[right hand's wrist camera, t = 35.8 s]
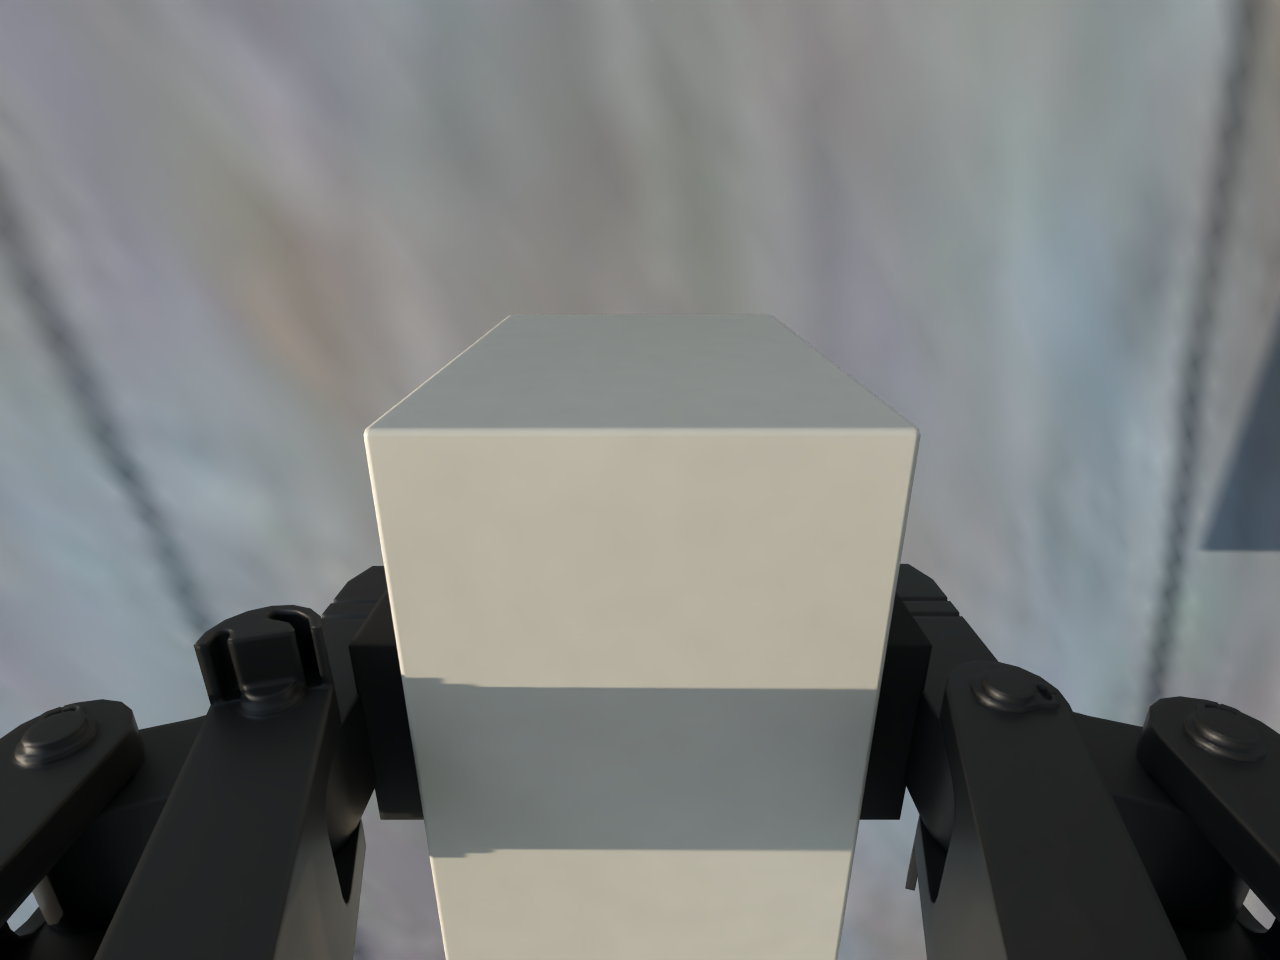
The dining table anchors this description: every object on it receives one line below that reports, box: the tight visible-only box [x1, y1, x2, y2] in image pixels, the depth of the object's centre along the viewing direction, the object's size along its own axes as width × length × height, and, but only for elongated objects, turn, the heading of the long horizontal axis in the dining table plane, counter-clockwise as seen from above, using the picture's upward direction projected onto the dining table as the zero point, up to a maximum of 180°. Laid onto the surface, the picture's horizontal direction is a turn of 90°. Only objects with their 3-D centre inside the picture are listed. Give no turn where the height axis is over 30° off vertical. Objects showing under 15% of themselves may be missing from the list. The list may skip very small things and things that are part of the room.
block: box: [364, 314, 920, 960], centre depth 12 cm, size 5×8×8 cm, turn 0°
